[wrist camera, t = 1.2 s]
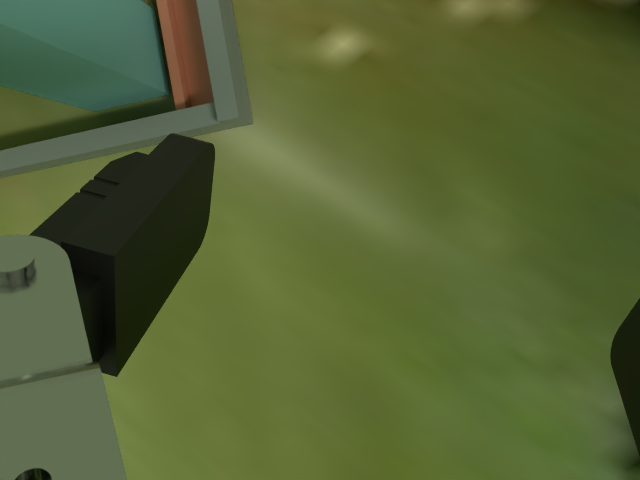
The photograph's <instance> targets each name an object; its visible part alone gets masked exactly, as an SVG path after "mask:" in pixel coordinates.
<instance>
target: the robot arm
mask: <svg viewBox="0 0 640 480" xmlns="http://www.w3.org/2000/svg"><path fill="white" fill-rule="evenodd" d="M214 162H215V148H214V145H213V144H212V143H208V142H205V141H201V140H197V139H193V138H190V137H186V136H182V135H179V134H175V133H171V134H169V135H168V136H167V137H166V138H165V139H164V140H163V141H162V142H161V143H160V144H159V145H158V146H157V147H156V148H155V149H154V150H153V151H152V152H151V153H150V154H149V155H147V154H143V153H140V152H134V153H132V154H129V155H126V156H124V157H121V158H119V159H116V160H114V161H111V162H110V163H109V164H108V165H106V166H105V167H104V168H103V169H102V170H101V171H100V172H99V173H98V174H97V175H95V176H94V180H90V181H89V182H88V183H87V184H85V185H84V186H83V187H82V188H81V189H80V193H78V192H77V193H75V194H74V195H73V196H72V197H71V198H70V199H69V200H68V201H67V202H65V203H64V204H63V205H62V206H61V207H60V208H59V209H58V210H57V211H55V212H54V213H53V214H52V215H51V216H50V217H49V218H48V219H47V220H45V221H44V222H43V223H42V224H41V225H40V226H39V227H38V228H37V229H35V230H34V231H33V232H32V233H31V234H30V235H5V236H0V480H127V478H126V473H125V469H124V465H123V461H122V456H121V452H120V448H119V444H118V439H117V435H116V431H115V427H114V423H113V418H112V414H111V410H110V406H109V401H108V397H107V393H106V389H105V384H104V380H103V376H102V373H105V374H108V375H112V376H115V377H117V376H118V374H119V373H120V371H121V370H122V368H123V366H124V365H125V363H126V362H127V360H128V359H129V357H130V356H131V354H132V352H133V351H134V349H135V348H136V346H137V345H138V343H139V342H140V340H141V338H142V337H143V335H144V334H145V332H146V331H147V329H148V328H149V326H150V324H151V323H152V321H153V320H154V318H155V317H156V315H157V314H158V312H159V310H160V309H161V307H162V306H163V304H164V303H165V301H166V299H167V298H168V296H169V295H170V293H171V292H172V290H173V289H174V287H175V285H176V284H177V282H178V281H179V279H180V278H181V276H182V275H183V273H184V271H185V270H186V268H187V267H188V265H189V264H190V262H191V261H192V259H193V257H194V256H195V254H196V253H197V251H198V250H199V248H200V246H201V244H202V241H203V239H204V236H205V233H206V230H207V226H208V221H209V213H210V203H211V193H212V182H213V172H214ZM611 365H612V368H613V372H614V375H615V378H616V381H617V385H618V388H619V391H620V394H621V398H622V401H623V404H624V407H625V410H626V414H627V417H628V420H629V423H630V427H631V430H632V433H633V436H634V440H635V443H636V446H637V449H638V452H639V456H640V298H639V300H638V301H637V303H636V304H635V306H634V307H633V309H632V310H631V311H630V313H629V314H628V316H627V317H626V319H625V320H624V322H623V323H622V324H621V326H620V327H619V329H618V331H617V332H616V334H615V337H614V339H613V342H612V347H611Z"/></svg>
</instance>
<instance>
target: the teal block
mask: <svg viewBox="0 0 640 480" xmlns="http://www.w3.org/2000/svg"><path fill="white" fill-rule="evenodd" d="M0 86H3V87H7V88H10V89H14V90H17V91H21V92H25V93H28V94H32V95H36V96H39V97H43V98H47V99H50V100H54V101H58V102H61V103H65V104H69V105H72V106H76V107H80V108H83V109H87V110H90V111H94V112H96V111H100V110H105V109H109V108H113V107H118V106H122V105H126V104H130V103H135V102H139V101H143V100H148V99H152V98H156V97H160V96H165V95H169V94H170V91H169V85H168V80H167V74H166V69H165V63H164V57H163V52H162V46H161V41H160V35H159V30H158V24H157V18H156V13H155V10H154V9H153V8H151V7H150V6H148V5H147V4H146V3H144V2H143V1H141V0H0Z"/></svg>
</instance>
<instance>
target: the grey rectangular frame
mask: <svg viewBox="0 0 640 480" xmlns="http://www.w3.org/2000/svg"><path fill="white" fill-rule="evenodd" d="M156 1H157V7H158V13H159V18H160V24H161V29H162V35H163V40H164V46H165V52H166V57H167V63H168V68H169V74H170V79H171V85H172V91H173V96H174V102H175V107H176V111H172V112H168V113H163V114H159V115H154V116H150V117H145V118H141V119H137V120H132V121H128V122H123V123H119V124H115V125H110V126H106V127H101V128H97V129H93V130H88V131H84V132H79V133H75V134H70V135H66V136H62V137H57V138H53V139H48V140H44V141H40V142H35V143H31V144H26V145H22V146H18V147H13V148H9V149H4V150H0V178H3V177H7V176H12V175H17V174H21V173H26V172H31V171H35V170H40V169H45V168H49V167H54V166H59V165H63V164H68V163H72V162H77V161H82V160H86V159H91V158H96V157H100V156H105V155H110V154H114V153H119V152H124V151H128V150H133V149H137V148H142V147H147V146H151V145H156V144H160V143H161V142H162V141H163V140H164V139H165V138H166V137H167V136H168V135H169V134H171V133H175V134H179V135H182V136H186V137H193V136H198V135H202V134H207V133H212V132H216V131H221V130H226V129H230V128H235V127H240V126H244V125H249V124H253V120H252V114H251V108H250V103H249V97H248V91H247V86H246V80H245V74H244V69H243V63H242V57H241V52H240V46H239V40H238V35H237V29H236V23H235V18H234V12H233V6H232V0H156Z"/></svg>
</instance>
